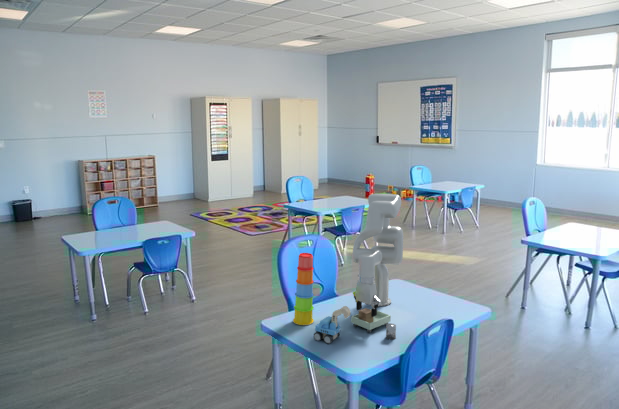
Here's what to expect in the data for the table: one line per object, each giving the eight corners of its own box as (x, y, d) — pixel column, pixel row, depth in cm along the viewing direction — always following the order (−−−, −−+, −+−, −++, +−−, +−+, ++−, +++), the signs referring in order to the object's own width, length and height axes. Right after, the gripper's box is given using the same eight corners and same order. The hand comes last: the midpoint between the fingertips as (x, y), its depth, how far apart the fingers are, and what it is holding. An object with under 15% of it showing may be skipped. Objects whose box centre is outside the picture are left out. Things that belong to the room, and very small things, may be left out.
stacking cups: (301, 315, 256) (300, 250, 250) (317, 320, 250) (317, 253, 244) (288, 322, 247) (287, 255, 241) (305, 327, 242) (304, 258, 236)
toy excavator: (344, 348, 220) (344, 311, 217) (311, 339, 228) (311, 304, 225) (352, 341, 227) (353, 305, 224) (321, 333, 235) (321, 298, 232)
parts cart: (351, 326, 242) (351, 316, 242) (371, 318, 252) (372, 308, 251) (369, 334, 234) (369, 323, 233) (390, 325, 243) (390, 315, 242)
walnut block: (358, 322, 240) (358, 310, 239) (365, 319, 244) (365, 308, 243) (366, 325, 237) (366, 313, 236) (373, 322, 240) (373, 311, 239)
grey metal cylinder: (384, 337, 230) (384, 325, 229) (390, 334, 233) (390, 322, 232) (391, 340, 227) (391, 328, 226) (397, 337, 230) (397, 325, 229)
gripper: (348, 276, 241) (348, 309, 244) (375, 285, 228) (374, 320, 231) (358, 272, 245) (358, 305, 249) (385, 281, 233) (385, 316, 236)
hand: (366, 312), depth 240 cm, fingers open, 9 cm apart
